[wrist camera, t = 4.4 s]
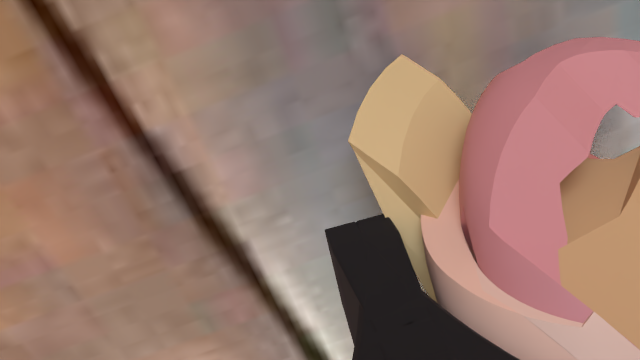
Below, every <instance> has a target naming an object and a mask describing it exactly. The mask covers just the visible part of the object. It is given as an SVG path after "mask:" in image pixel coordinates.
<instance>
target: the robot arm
mask: <svg viewBox="0 0 640 360" xmlns="http://www.w3.org/2000/svg"><path fill="white" fill-rule="evenodd" d="M325 233H326V237H327V242H328V246H329V250H330V254H331V258H332V263H333V267H334V271H335V275H336V279H337V284H338V288H339V292H340V296H341V300H342V304H343V308H344V311H345V315H346V318H347V322H348V325H349V329H350V332H351V336H352V339H353V343H354V346H355V347H354V353H353V358H352V360H520V359H518V358H516V357H515V356H513V355H511V354H509V353H508V352H506V351H504V350H503V349H501V348H500V347H498V346H497V345H495V344H493V343H492V342H490V341H489V340H487V339H486V338H484V337H483V336H481V335H480V334H478V333H477V332H475V331H474V330H472V329H471V328H470V327H468V326H467V325H465V324H464V323H462V322H461V321H460V320H458V319H457V318H456V317H454V316H453V315H452V314H450V313H449V312H448V311H447V310H445V309H444V308H443V307H442V306H440V305H439V304H438V303H437V302H435V301H434V300H433V299H432V298H431V297H429V296H428V295H427V294H426V293H425V292H423V291H422V290H421V287H420V285H419V282H418V279H417V277H416V274H415V271H414V269H413V266H412V264H411V261H410V258H409V256H408V253H407V250H406V248H405V245H404V243H403V240H402V237H401V235H400V232H399V231H398V229H397V228H396V226H395V225H394V223H393V222H392V220H391V219H390V218H389V217H386V218H385V216H384V214H382V215H378V216H374V217H371V218H367V219H363V220H359V221H357V222H356V223H355V222H352V223H348V224H344V225H341V226H337V227H333V228H329V229H326V230H325Z"/></svg>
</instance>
